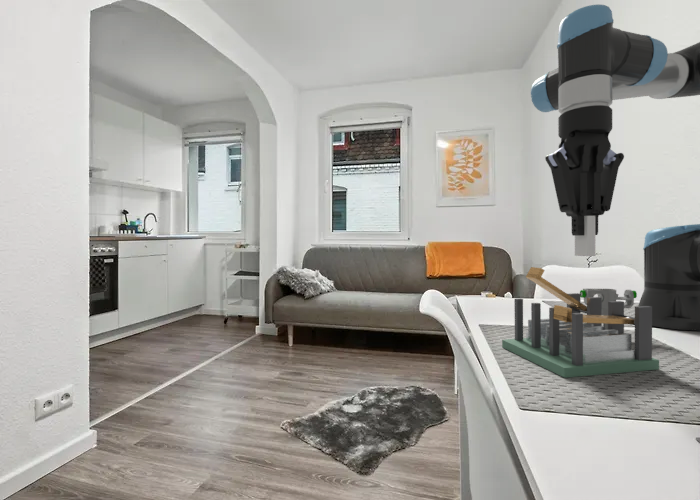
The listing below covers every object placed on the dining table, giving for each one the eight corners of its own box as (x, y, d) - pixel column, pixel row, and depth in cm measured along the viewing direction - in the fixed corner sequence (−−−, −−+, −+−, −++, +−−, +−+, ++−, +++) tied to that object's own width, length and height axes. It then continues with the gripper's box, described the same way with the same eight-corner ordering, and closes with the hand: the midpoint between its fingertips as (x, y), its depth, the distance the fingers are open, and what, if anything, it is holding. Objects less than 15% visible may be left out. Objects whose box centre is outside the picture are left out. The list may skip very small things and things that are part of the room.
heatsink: (567, 336, 77) (567, 316, 77) (634, 359, 62) (634, 334, 62) (526, 339, 76) (526, 319, 76) (585, 363, 61) (585, 338, 61)
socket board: (579, 341, 79) (579, 334, 79) (659, 369, 62) (659, 359, 62) (502, 347, 76) (502, 339, 76) (564, 377, 59) (564, 368, 59)
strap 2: (622, 321, 67) (623, 307, 67) (641, 326, 63) (642, 311, 63) (552, 319, 65) (553, 304, 65) (567, 323, 61) (568, 308, 61)
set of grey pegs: (577, 335, 78) (577, 293, 78) (652, 359, 62) (652, 306, 62) (514, 339, 76) (514, 296, 76) (576, 365, 60) (576, 311, 60)
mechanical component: (638, 338, 80) (638, 290, 80) (583, 337, 82) (583, 290, 82) (631, 335, 83) (631, 288, 83) (578, 333, 85) (578, 288, 85)
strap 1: (577, 312, 77) (583, 301, 77) (591, 315, 73) (597, 304, 73) (524, 277, 75) (530, 266, 75) (536, 279, 71) (542, 268, 71)
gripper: (600, 119, 68) (600, 253, 69) (533, 116, 66) (534, 256, 66) (639, 104, 61) (639, 255, 61) (565, 101, 58) (566, 258, 59)
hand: (584, 255), depth 64 cm, fingers closed
